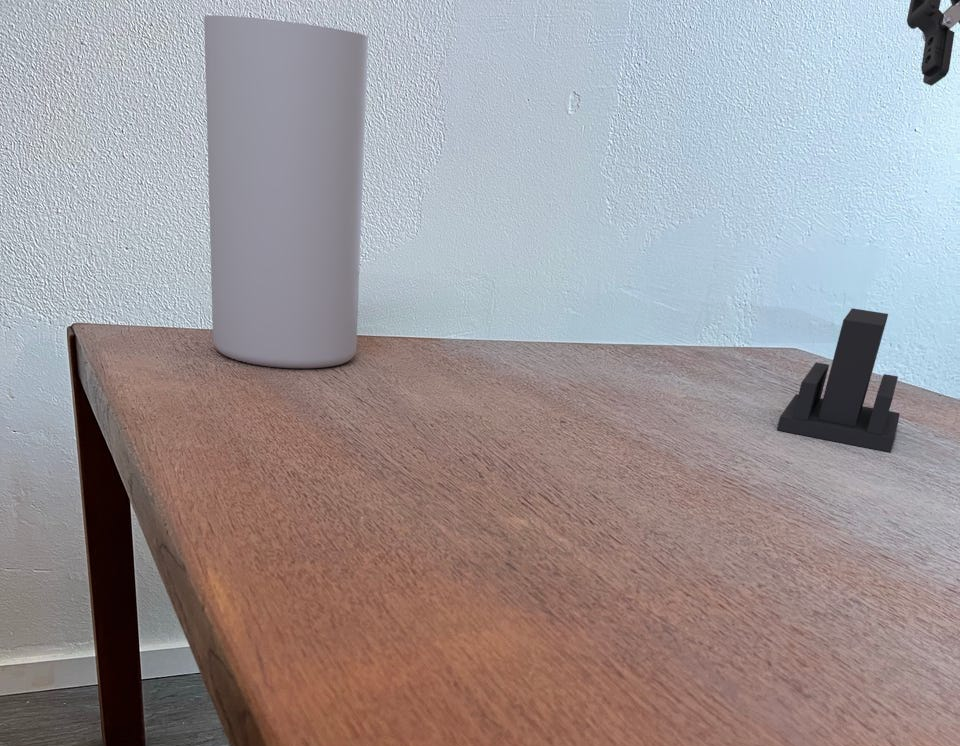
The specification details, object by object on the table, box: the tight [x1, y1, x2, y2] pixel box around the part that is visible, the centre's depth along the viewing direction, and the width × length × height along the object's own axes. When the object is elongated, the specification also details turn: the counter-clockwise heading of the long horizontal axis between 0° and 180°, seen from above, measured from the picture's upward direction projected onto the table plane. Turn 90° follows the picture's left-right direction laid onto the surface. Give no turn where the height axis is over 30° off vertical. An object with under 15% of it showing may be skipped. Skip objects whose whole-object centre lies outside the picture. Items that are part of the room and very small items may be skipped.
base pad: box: [776, 362, 901, 453], centre depth 83 cm, size 10×9×4 cm
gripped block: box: [818, 307, 889, 427], centre depth 82 cm, size 8×3×8 cm, turn 157°
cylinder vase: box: [203, 14, 369, 369], centre depth 82 cm, size 12×12×25 cm
